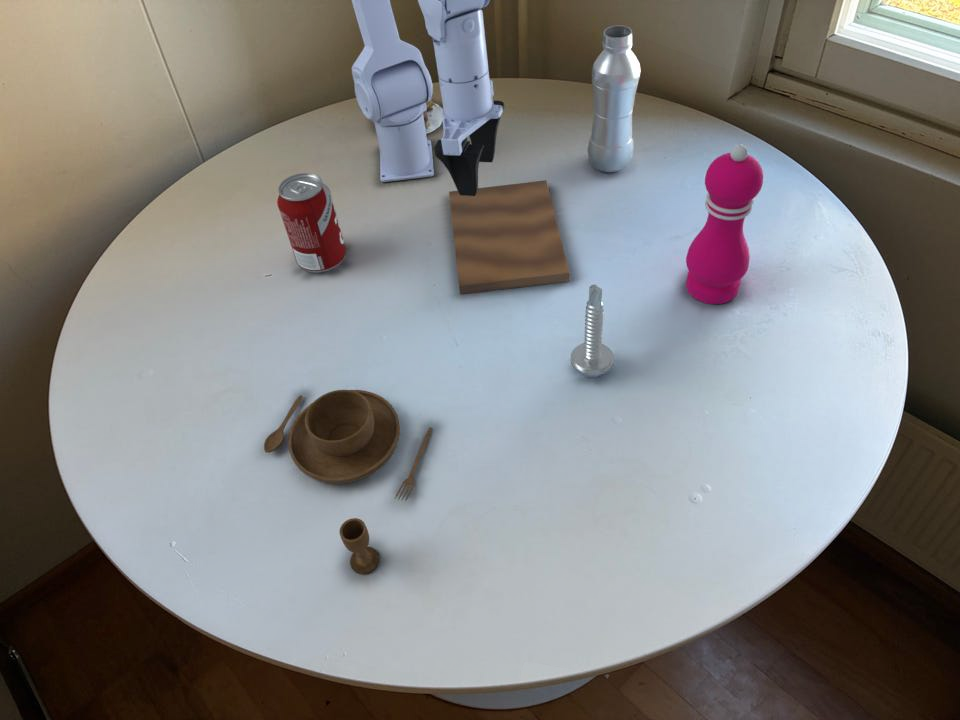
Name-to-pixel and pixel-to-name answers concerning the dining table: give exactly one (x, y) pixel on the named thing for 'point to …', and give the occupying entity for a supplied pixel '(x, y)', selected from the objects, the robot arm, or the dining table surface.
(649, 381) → the dining table surface
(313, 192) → the soda can
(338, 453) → the place setting
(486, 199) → the cutting board
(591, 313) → the screw
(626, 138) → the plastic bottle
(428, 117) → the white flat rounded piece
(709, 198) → the pepper mill
